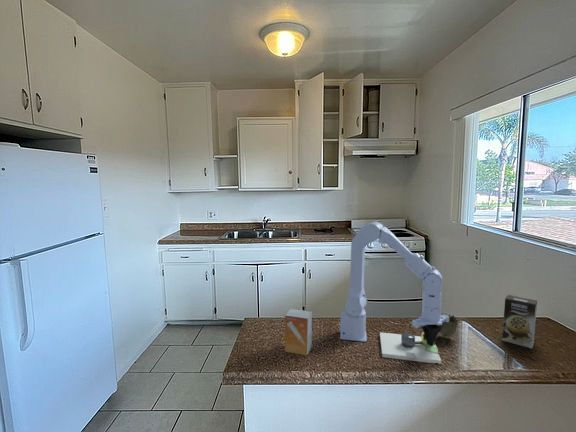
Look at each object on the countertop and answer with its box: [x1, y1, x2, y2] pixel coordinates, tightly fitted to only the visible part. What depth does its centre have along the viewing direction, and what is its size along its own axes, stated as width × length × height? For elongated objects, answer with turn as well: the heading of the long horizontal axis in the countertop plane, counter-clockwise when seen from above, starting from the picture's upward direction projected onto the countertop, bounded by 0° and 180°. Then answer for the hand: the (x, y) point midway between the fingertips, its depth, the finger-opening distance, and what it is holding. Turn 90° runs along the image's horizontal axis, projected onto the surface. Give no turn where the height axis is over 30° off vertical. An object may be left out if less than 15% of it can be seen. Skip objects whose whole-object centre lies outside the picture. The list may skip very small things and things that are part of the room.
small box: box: [284, 308, 313, 356], centre depth 108 cm, size 8×6×13 cm
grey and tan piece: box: [401, 331, 435, 348], centre depth 110 cm, size 11×4×4 cm, turn 92°
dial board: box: [379, 331, 442, 365], centre depth 109 cm, size 19×18×1 cm
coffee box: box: [501, 294, 538, 349], centre depth 114 cm, size 9×6×16 cm
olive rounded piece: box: [438, 313, 459, 340], centre depth 117 cm, size 8×7×8 cm
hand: (429, 344), depth 107 cm, fingers closed
